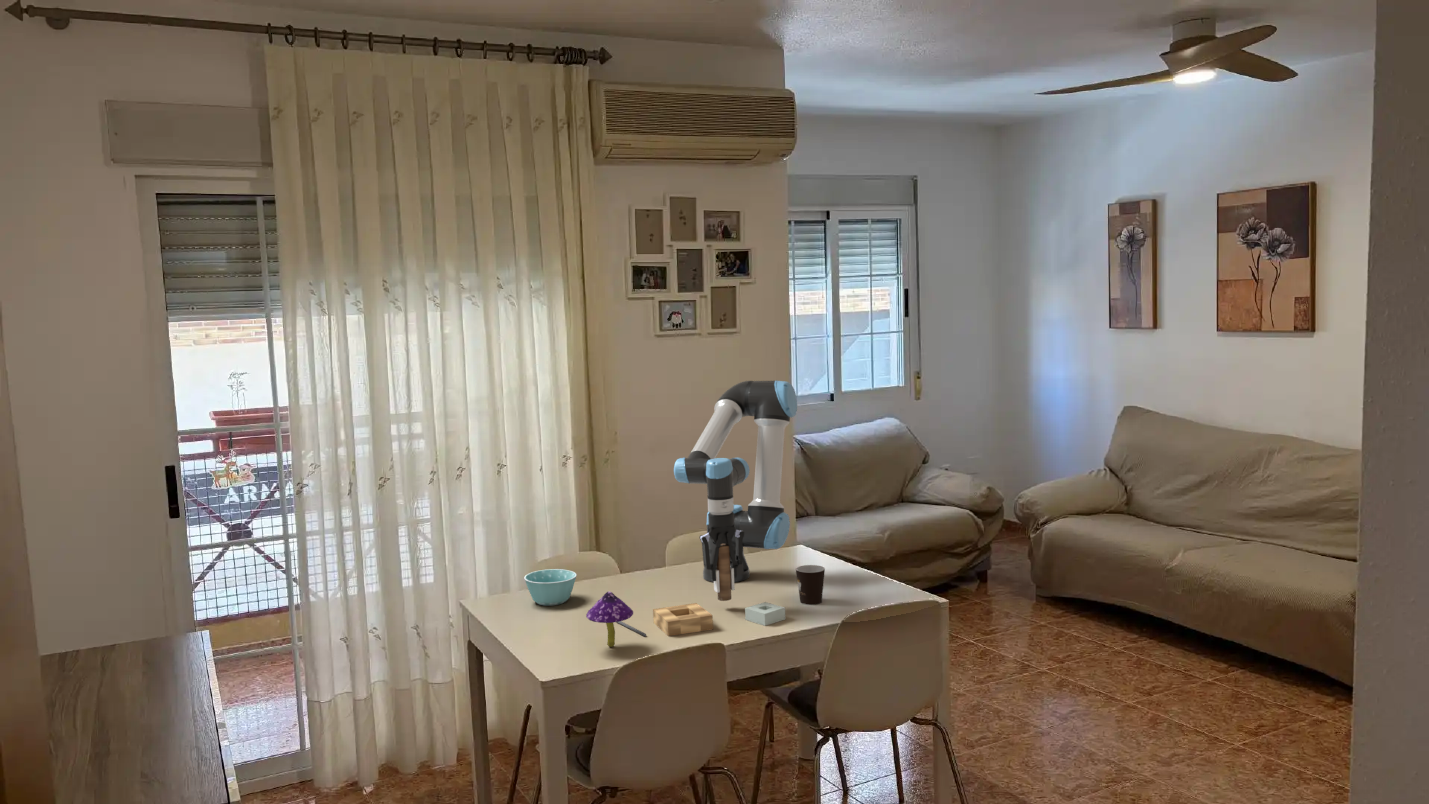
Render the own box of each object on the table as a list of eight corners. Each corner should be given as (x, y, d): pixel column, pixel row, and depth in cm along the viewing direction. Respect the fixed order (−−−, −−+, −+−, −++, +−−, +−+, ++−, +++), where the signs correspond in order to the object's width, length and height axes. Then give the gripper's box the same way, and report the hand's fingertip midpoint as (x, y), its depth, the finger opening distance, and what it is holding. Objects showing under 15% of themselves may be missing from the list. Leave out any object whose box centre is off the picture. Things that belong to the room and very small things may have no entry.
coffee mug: (824, 606, 313) (823, 572, 312) (794, 605, 315) (793, 572, 314) (827, 595, 324) (827, 562, 323) (799, 594, 326) (798, 562, 325)
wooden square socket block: (653, 622, 302) (653, 609, 302) (696, 616, 307) (696, 602, 307) (668, 636, 290) (667, 621, 290) (712, 629, 295) (712, 615, 294)
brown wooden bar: (715, 597, 314) (713, 544, 312) (728, 595, 316) (726, 543, 314) (720, 601, 310) (718, 548, 308) (733, 599, 312) (731, 546, 310)
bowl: (587, 597, 330) (586, 571, 330) (559, 611, 316) (558, 584, 315) (544, 592, 337) (543, 567, 336) (515, 606, 323) (514, 579, 322)
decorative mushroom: (579, 652, 279) (576, 596, 278) (600, 637, 291) (598, 583, 289) (622, 656, 275) (619, 600, 273) (642, 641, 287) (640, 586, 285)
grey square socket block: (745, 619, 303) (745, 608, 302) (765, 613, 308) (765, 601, 307) (765, 625, 297) (764, 613, 296) (785, 619, 302) (785, 607, 301)
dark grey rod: (615, 622, 304) (615, 619, 304) (617, 621, 305) (617, 618, 304) (644, 637, 290) (644, 634, 290) (646, 636, 291) (646, 633, 290)
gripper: (698, 518, 303) (701, 598, 306) (753, 511, 309) (756, 589, 312) (689, 513, 310) (692, 591, 313) (743, 506, 316) (746, 582, 319)
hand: (724, 589), depth 313 cm, fingers closed on brown wooden bar, 4 cm apart
